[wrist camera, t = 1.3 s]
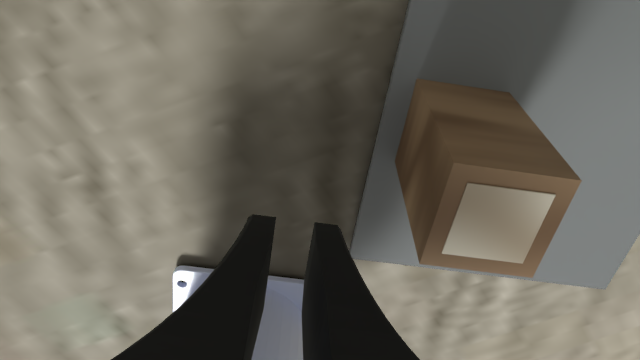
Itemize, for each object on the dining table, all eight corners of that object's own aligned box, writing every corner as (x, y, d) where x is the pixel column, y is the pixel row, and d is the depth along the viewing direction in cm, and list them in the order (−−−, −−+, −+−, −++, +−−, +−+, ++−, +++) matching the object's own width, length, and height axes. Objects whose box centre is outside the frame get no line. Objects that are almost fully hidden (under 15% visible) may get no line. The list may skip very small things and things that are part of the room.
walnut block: (479, 172, 23) (533, 278, 17) (394, 161, 23) (419, 264, 17) (509, 92, 21) (582, 181, 15) (416, 78, 21) (454, 163, 15)
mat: (601, 284, 27) (605, 289, 27) (348, 253, 26) (349, 258, 26) (789, -25, 19) (798, -23, 19) (430, -89, 18) (432, -88, 18)
